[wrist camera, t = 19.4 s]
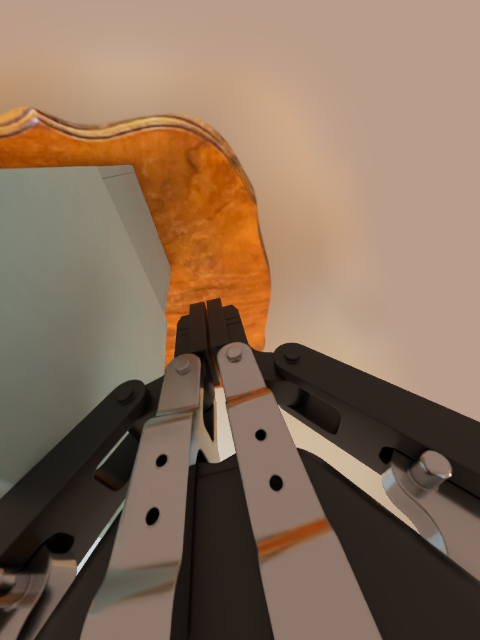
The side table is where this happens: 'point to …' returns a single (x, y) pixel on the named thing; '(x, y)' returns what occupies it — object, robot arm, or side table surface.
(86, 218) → the chest lid
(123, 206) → the chest
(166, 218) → the side table surface
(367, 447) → the robot arm
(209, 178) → the side table surface
